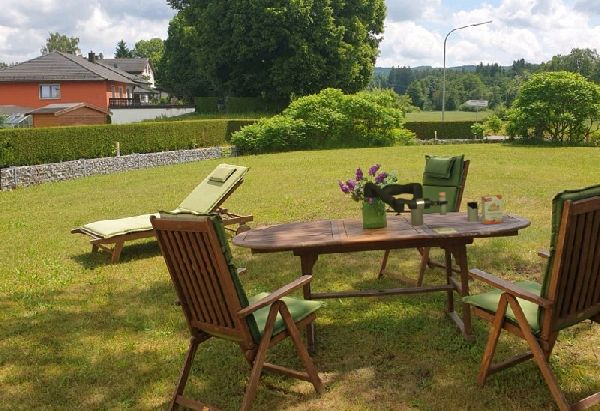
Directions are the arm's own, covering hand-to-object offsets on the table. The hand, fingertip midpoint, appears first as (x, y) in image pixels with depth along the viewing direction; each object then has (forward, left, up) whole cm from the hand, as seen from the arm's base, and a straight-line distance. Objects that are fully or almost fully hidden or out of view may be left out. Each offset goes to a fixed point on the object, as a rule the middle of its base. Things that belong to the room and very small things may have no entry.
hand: (446, 202), depth 422 cm
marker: (0, -3, -9) cm, 9 cm away
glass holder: (-37, +32, -21) cm, 53 cm away
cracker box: (-20, +39, -21) cm, 48 cm away
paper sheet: (0, -2, -21) cm, 21 cm away
